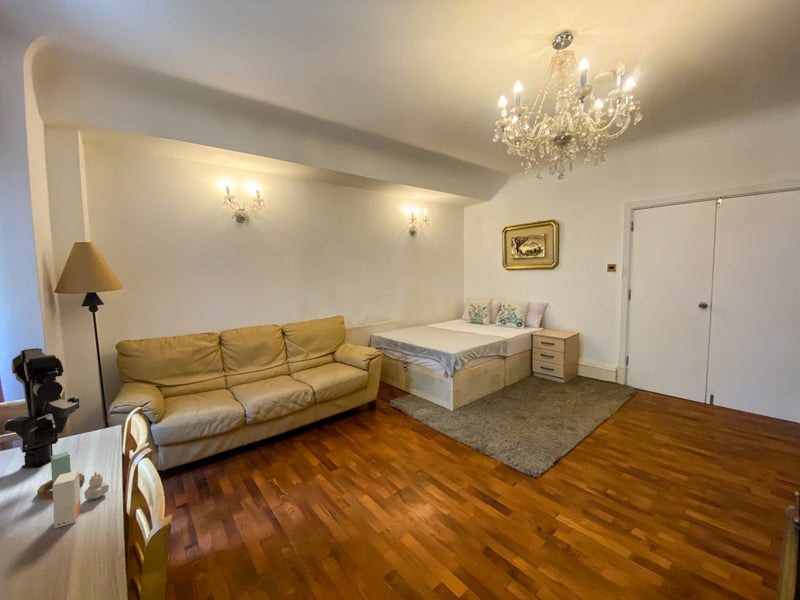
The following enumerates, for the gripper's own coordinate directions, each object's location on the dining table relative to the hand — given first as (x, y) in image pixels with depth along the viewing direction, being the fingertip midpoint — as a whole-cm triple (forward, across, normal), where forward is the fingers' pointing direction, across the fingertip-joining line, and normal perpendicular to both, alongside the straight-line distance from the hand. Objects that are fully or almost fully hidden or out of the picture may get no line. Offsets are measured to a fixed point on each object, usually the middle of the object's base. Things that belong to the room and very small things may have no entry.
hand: (46, 439), depth 110 cm
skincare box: (+13, -21, -26) cm, 36 cm away
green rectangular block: (+13, -7, -11) cm, 18 cm away
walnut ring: (+13, -7, -11) cm, 18 cm away
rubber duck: (+13, -12, -26) cm, 32 cm away
